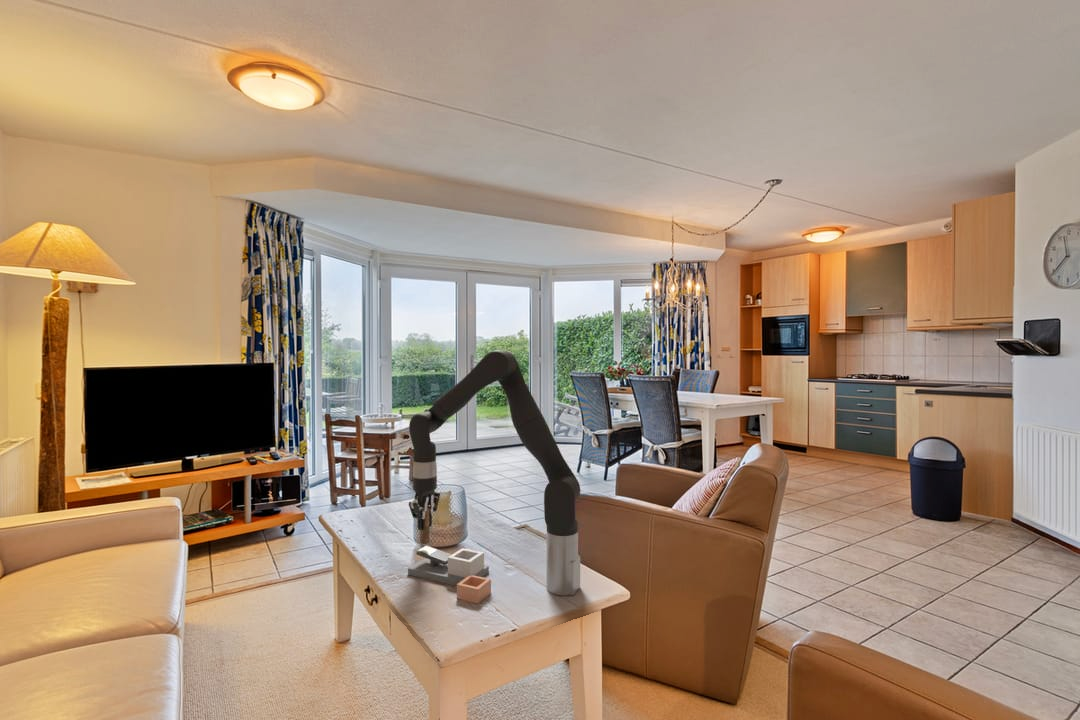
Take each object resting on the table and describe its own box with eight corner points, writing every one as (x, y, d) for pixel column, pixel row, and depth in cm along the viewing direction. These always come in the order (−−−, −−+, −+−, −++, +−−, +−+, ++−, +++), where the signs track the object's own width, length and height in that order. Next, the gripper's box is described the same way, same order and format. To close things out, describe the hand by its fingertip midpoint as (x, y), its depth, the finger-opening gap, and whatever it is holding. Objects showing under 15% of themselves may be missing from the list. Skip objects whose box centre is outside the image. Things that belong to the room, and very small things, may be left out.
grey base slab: (488, 572, 165) (488, 550, 165) (467, 588, 154) (467, 564, 154) (431, 560, 174) (431, 539, 174) (408, 574, 163) (407, 552, 163)
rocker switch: (454, 559, 166) (454, 555, 166) (444, 565, 162) (445, 561, 161) (426, 548, 171) (426, 545, 170) (416, 554, 166) (416, 550, 166)
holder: (490, 592, 151) (490, 579, 151) (478, 603, 145) (478, 589, 145) (470, 588, 154) (470, 574, 154) (456, 598, 148) (456, 584, 148)
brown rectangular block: (431, 541, 168) (431, 507, 168) (425, 544, 166) (425, 510, 165) (423, 539, 170) (423, 506, 169) (417, 543, 167) (417, 508, 167)
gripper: (420, 481, 159) (420, 537, 160) (447, 471, 172) (447, 523, 172) (400, 478, 162) (401, 533, 163) (428, 468, 175) (428, 519, 175)
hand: (425, 527), depth 167 cm, fingers closed on brown rectangular block, 3 cm apart
